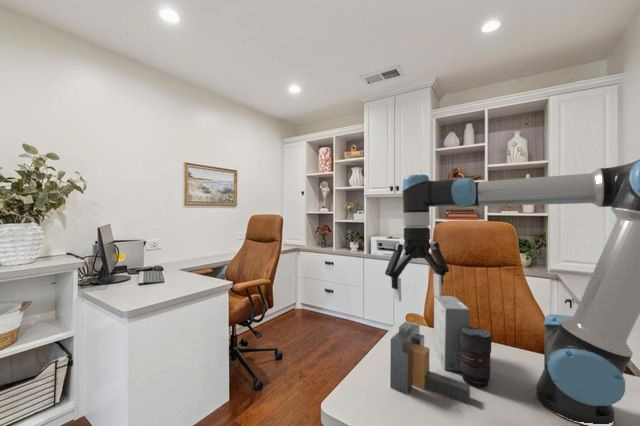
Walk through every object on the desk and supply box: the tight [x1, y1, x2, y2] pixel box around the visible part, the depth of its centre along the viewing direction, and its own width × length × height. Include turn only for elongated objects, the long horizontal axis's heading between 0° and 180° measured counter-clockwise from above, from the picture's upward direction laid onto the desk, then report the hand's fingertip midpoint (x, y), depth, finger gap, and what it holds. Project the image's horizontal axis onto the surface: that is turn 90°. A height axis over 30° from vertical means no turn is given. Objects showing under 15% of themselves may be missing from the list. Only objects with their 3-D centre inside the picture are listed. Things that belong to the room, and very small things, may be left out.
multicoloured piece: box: [409, 343, 471, 405], centre depth 80 cm, size 16×5×10 cm, turn 53°
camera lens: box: [460, 326, 492, 389], centre depth 84 cm, size 8×8×15 cm
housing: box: [389, 321, 425, 395], centre depth 85 cm, size 5×15×16 cm, turn 143°
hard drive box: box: [433, 295, 471, 372], centre depth 97 cm, size 16×8×20 cm, turn 171°
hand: (418, 298), depth 84 cm, fingers open, 13 cm apart
